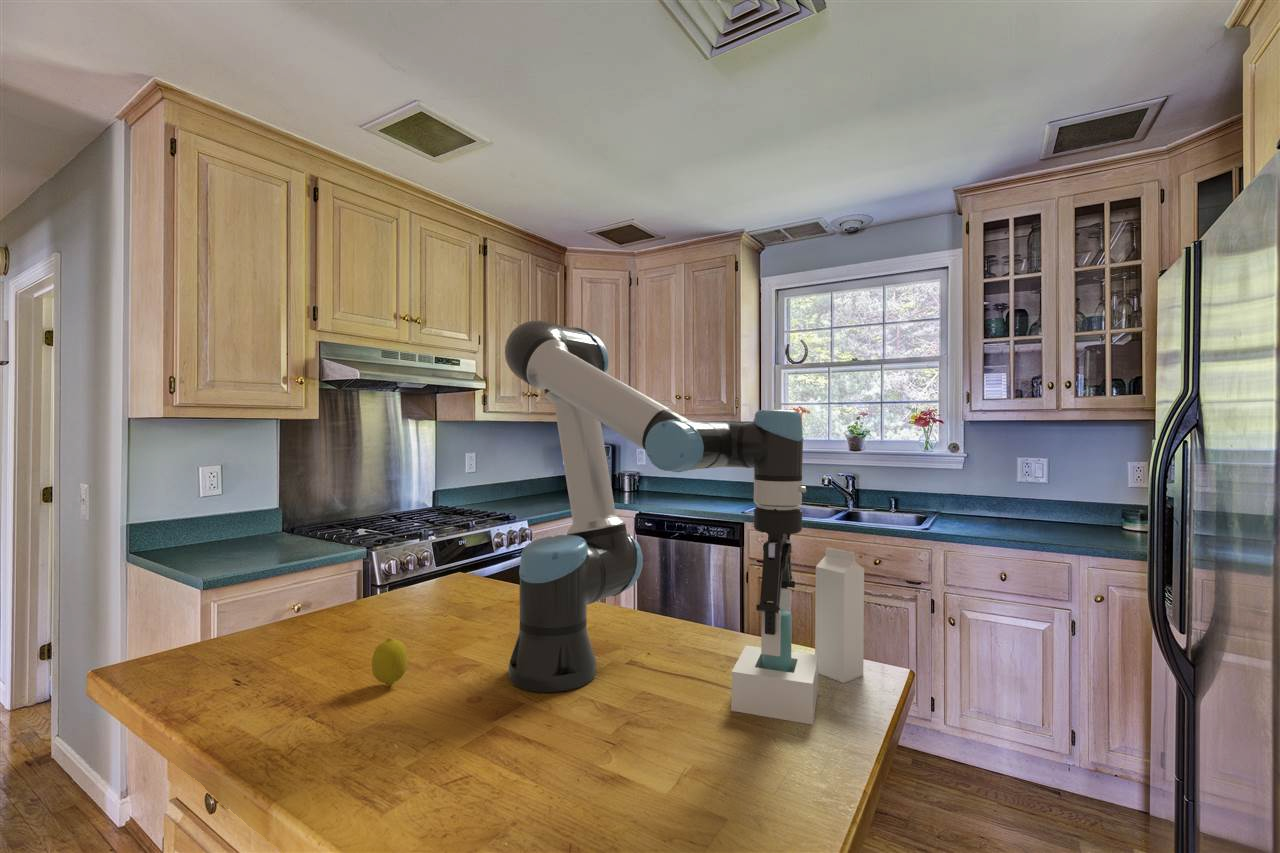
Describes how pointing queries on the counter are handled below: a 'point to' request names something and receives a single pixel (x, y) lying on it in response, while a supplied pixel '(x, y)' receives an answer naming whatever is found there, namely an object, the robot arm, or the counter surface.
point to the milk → (839, 616)
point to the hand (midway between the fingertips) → (776, 639)
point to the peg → (781, 647)
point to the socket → (775, 687)
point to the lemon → (389, 661)
